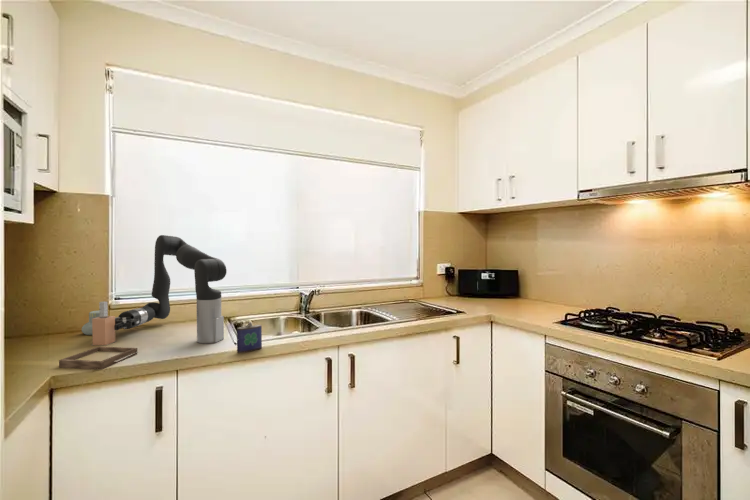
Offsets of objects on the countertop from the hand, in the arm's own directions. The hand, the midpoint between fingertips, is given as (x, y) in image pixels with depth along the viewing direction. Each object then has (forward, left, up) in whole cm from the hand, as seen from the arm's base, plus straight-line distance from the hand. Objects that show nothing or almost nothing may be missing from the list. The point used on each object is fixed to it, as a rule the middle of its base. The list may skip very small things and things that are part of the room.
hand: (104, 327), depth 141 cm
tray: (-13, +16, -7) cm, 22 cm away
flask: (-58, -2, -7) cm, 59 cm away
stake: (0, 0, -7) cm, 7 cm away
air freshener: (+16, -14, -7) cm, 22 cm away
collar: (0, 0, -6) cm, 6 cm away
